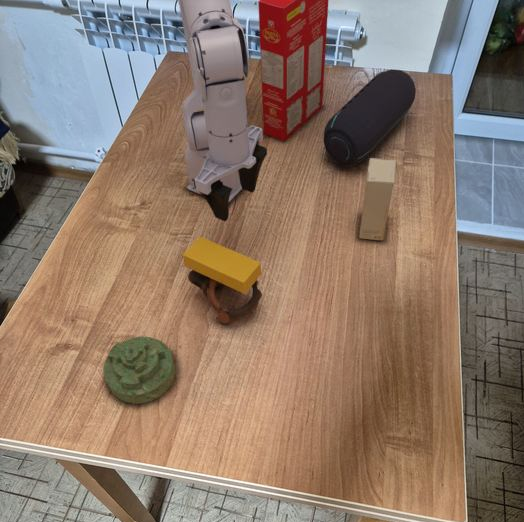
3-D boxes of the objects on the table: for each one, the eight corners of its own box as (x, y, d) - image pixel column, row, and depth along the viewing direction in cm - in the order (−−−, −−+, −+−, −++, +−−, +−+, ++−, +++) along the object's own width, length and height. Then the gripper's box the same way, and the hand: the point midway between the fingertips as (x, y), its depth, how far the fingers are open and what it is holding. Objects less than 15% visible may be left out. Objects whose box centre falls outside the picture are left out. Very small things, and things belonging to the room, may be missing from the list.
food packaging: (302, 100, 115) (305, -31, 94) (322, 107, 113) (329, -25, 92) (263, 133, 108) (258, 1, 88) (284, 141, 107) (283, 8, 86)
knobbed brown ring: (264, 280, 86) (270, 269, 78) (249, 334, 85) (253, 328, 77) (195, 259, 85) (194, 246, 77) (179, 313, 84) (175, 305, 76)
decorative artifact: (100, 400, 74) (167, 406, 73) (83, 375, 68) (156, 382, 67) (119, 343, 79) (181, 349, 78) (105, 316, 74) (173, 321, 73)
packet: (184, 266, 78) (182, 254, 76) (202, 247, 80) (200, 236, 78) (245, 294, 74) (243, 282, 72) (261, 274, 76) (260, 262, 74)
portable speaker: (374, 103, 113) (380, 56, 105) (415, 116, 110) (425, 69, 101) (313, 163, 102) (315, 116, 94) (357, 180, 99) (363, 133, 90)
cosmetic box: (383, 241, 89) (395, 184, 79) (357, 238, 90) (366, 181, 80) (385, 217, 93) (397, 159, 83) (361, 214, 93) (369, 156, 83)
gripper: (220, 163, 65) (230, 240, 76) (279, 106, 72) (280, 185, 83) (176, 146, 67) (192, 224, 79) (237, 92, 74) (244, 171, 85)
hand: (235, 203), depth 81 cm, fingers open, 7 cm apart
